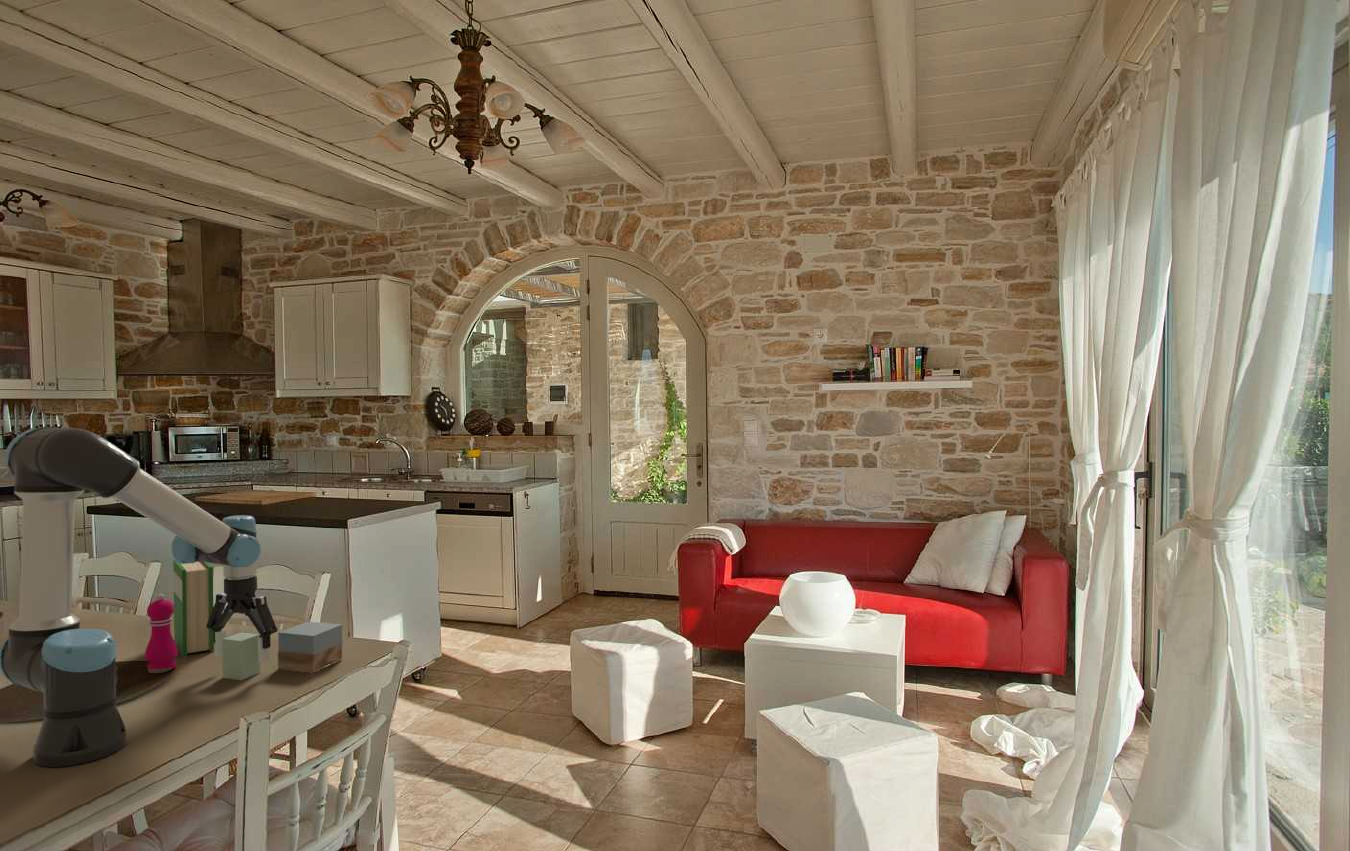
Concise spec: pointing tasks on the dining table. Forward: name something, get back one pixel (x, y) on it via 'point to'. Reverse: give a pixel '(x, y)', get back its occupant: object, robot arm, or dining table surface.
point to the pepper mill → (161, 635)
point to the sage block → (240, 656)
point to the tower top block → (310, 638)
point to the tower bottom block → (309, 659)
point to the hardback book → (193, 606)
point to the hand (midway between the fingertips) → (242, 658)
